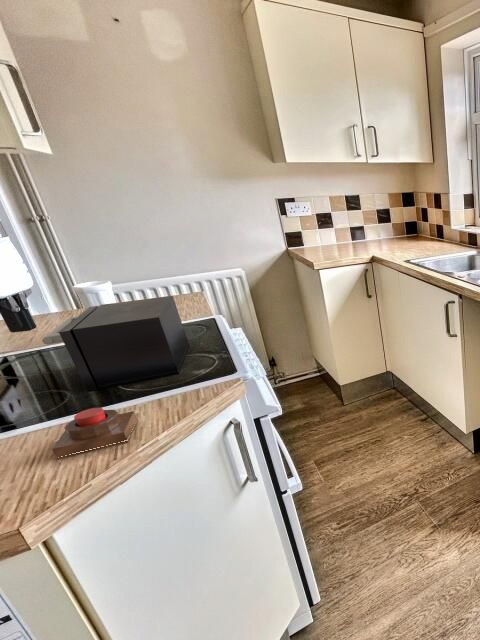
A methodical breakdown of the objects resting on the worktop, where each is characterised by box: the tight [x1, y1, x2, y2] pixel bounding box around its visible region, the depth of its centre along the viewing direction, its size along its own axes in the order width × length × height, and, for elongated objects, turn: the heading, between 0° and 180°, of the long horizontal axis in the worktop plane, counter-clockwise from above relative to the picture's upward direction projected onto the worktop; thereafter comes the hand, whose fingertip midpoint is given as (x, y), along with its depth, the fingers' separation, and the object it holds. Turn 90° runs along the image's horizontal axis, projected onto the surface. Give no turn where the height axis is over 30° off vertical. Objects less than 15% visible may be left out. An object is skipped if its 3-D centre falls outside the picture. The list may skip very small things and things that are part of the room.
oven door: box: [41, 306, 99, 393], centre depth 94 cm, size 5×20×14 cm, turn 30°
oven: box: [73, 295, 190, 391], centre depth 99 cm, size 14×20×14 cm
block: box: [51, 409, 139, 461], centre depth 73 cm, size 9×8×4 cm
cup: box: [72, 280, 117, 311], centre depth 122 cm, size 8×8×14 cm
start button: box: [73, 407, 107, 427], centre depth 72 cm, size 4×4×2 cm
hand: (24, 330), depth 81 cm, fingers closed
